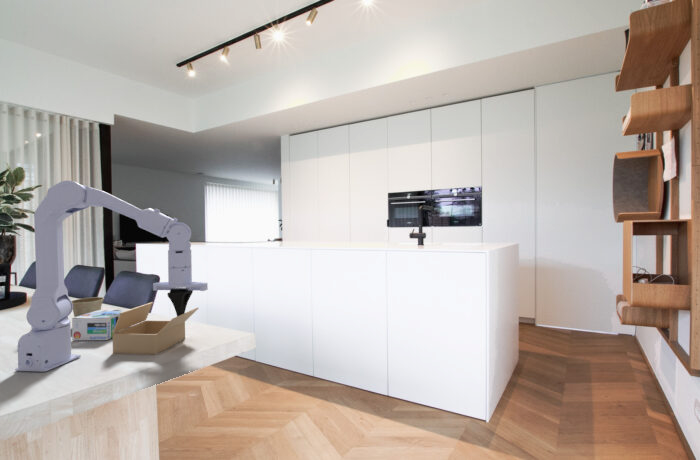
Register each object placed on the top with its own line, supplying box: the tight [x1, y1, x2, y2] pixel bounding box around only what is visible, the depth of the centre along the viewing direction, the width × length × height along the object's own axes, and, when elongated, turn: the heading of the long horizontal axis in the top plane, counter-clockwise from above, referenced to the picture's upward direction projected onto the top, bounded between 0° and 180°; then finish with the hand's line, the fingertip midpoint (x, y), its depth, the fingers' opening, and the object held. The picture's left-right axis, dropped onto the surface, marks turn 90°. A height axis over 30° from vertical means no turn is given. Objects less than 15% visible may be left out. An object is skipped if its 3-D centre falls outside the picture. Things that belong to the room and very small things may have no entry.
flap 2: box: [157, 307, 199, 334], centre depth 97 cm, size 12×6×1 cm
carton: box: [112, 319, 186, 355], centre depth 98 cm, size 13×12×5 cm
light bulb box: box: [71, 309, 129, 341], centre depth 108 cm, size 11×7×11 cm
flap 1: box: [113, 301, 154, 333], centre depth 98 cm, size 12×6×1 cm
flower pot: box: [71, 296, 105, 318], centre depth 119 cm, size 9×9×9 cm
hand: (180, 316), depth 97 cm, fingers closed
